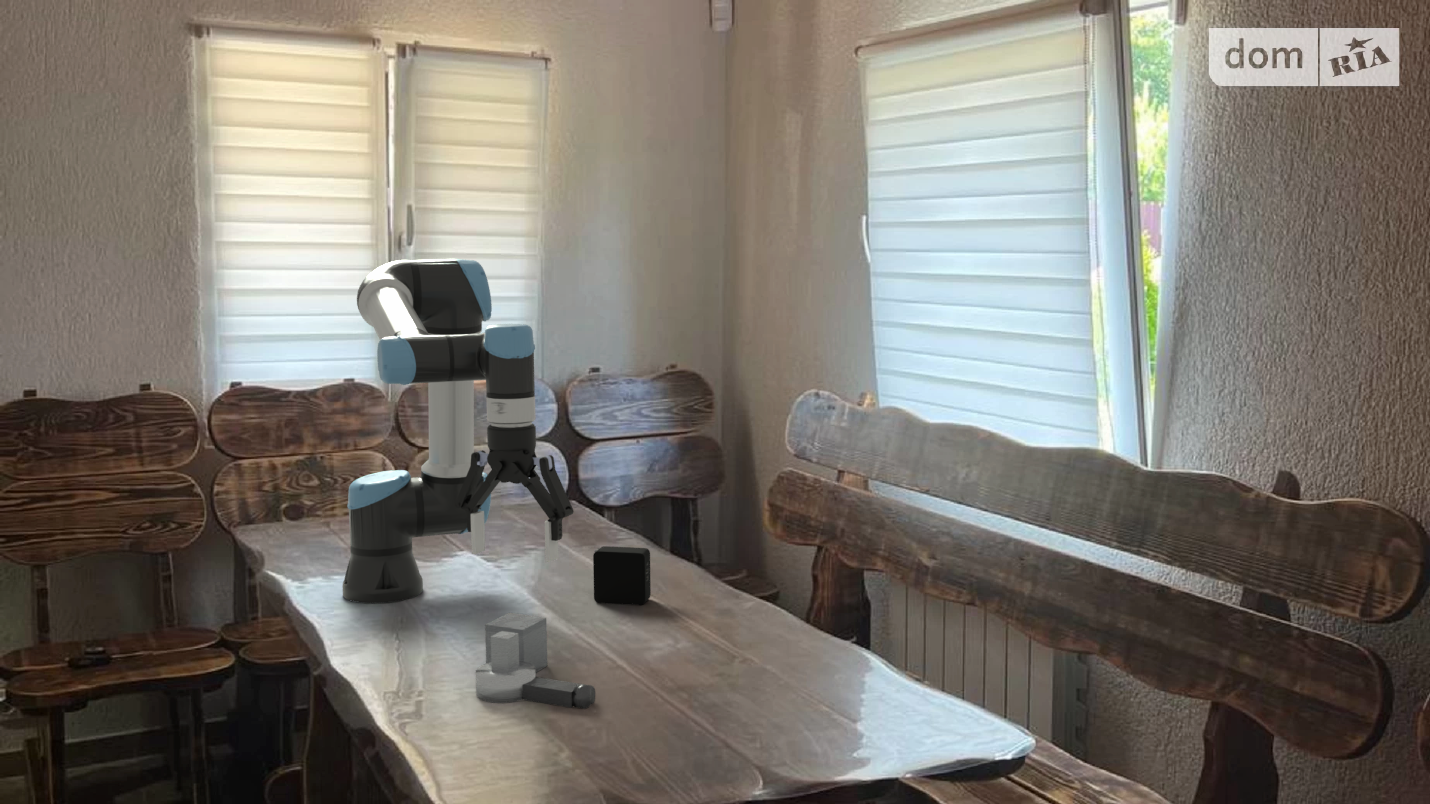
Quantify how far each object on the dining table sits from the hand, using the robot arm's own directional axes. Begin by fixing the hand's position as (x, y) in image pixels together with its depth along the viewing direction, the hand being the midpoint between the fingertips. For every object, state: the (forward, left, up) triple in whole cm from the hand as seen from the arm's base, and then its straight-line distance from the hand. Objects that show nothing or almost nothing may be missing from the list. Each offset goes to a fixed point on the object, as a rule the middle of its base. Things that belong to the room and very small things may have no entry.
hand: (514, 556), depth 207 cm
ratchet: (+9, -9, -19) cm, 23 cm away
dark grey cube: (0, 0, -19) cm, 19 cm away
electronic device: (-3, +41, -19) cm, 45 cm away
